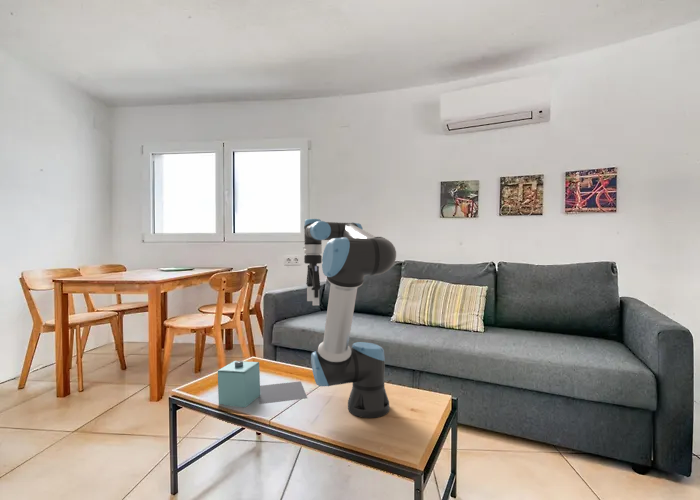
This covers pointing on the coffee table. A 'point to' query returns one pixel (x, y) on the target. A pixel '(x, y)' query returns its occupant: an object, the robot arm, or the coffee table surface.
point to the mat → (281, 392)
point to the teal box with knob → (239, 383)
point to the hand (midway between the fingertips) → (312, 303)
